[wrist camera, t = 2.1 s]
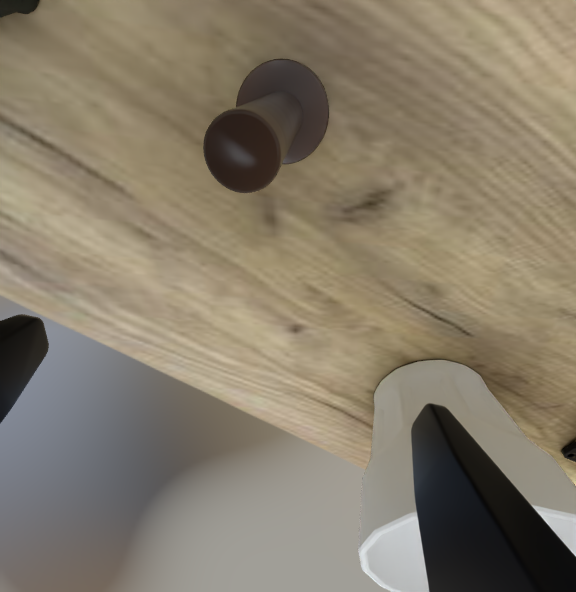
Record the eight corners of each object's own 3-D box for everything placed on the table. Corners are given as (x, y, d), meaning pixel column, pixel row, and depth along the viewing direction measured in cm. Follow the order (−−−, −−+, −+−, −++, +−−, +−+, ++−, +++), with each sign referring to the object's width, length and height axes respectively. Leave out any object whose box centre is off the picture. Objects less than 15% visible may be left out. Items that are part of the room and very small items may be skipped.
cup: (510, 318, 22) (639, 492, 13) (519, 434, 28) (612, 609, 19) (327, 358, 26) (327, 518, 17) (370, 454, 32) (387, 610, 23)
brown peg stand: (344, 85, 16) (363, 100, 8) (306, 173, 19) (288, 258, 10) (258, 41, 16) (174, 6, 7) (229, 138, 18) (142, 198, 10)
